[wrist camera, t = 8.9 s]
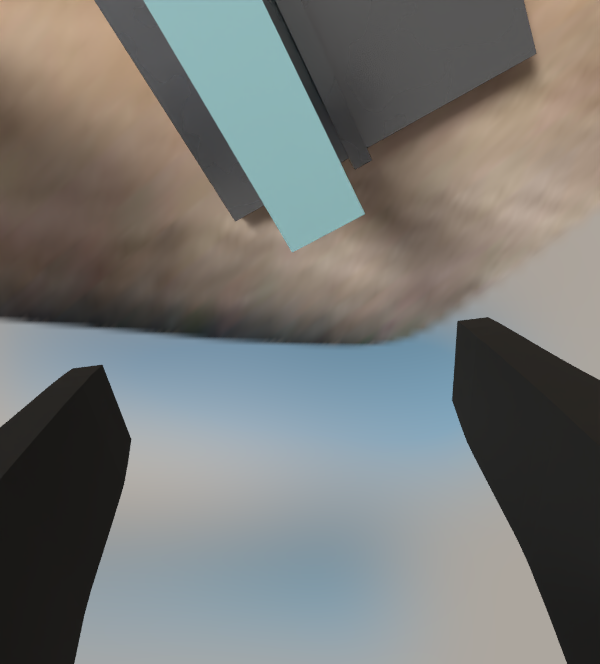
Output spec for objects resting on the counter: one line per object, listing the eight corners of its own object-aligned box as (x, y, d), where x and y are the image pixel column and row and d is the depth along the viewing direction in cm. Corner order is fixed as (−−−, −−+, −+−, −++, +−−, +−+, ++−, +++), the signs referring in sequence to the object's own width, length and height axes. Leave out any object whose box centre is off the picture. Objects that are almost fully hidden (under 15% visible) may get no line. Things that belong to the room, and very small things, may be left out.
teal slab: (278, 147, 17) (292, 252, 9) (127, -134, 13) (-59, -343, 6) (318, 124, 17) (364, 214, 9) (175, -171, 13) (48, -444, 5)
